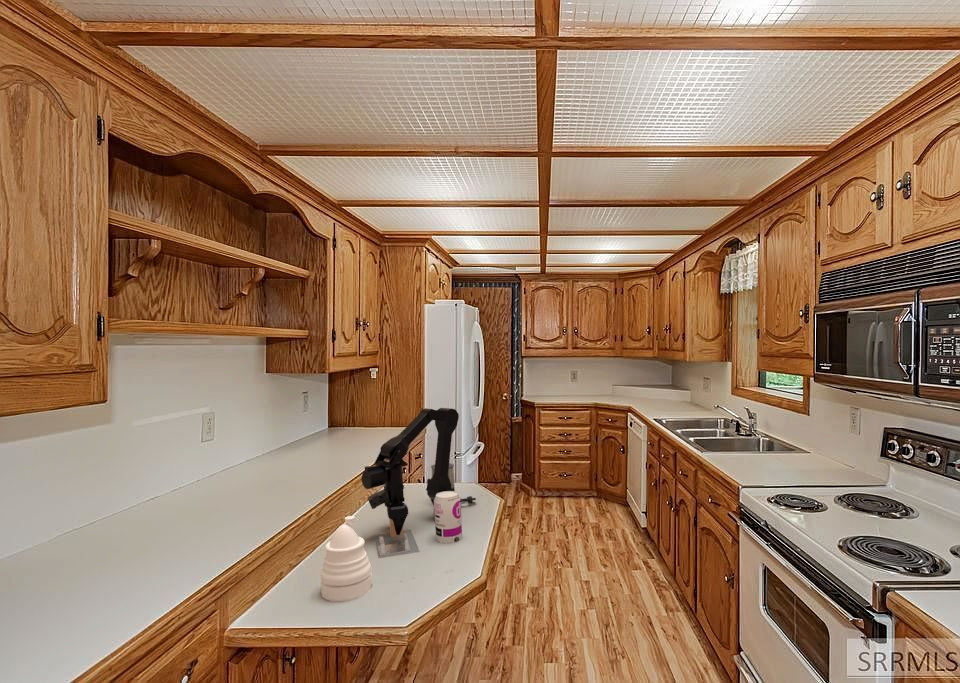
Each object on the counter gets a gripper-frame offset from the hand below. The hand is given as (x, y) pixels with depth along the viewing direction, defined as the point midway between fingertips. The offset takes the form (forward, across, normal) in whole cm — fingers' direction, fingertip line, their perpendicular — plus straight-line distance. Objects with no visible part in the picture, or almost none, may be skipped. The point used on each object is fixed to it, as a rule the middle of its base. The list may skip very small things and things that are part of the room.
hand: (396, 529), depth 168 cm
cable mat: (+3, +6, -1) cm, 7 cm away
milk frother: (+3, -28, +25) cm, 38 cm away
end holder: (+2, +12, -2) cm, 12 cm away
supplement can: (+3, +10, +15) cm, 18 cm away
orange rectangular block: (+2, 0, 0) cm, 2 cm away
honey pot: (+3, +30, -16) cm, 34 cm away
